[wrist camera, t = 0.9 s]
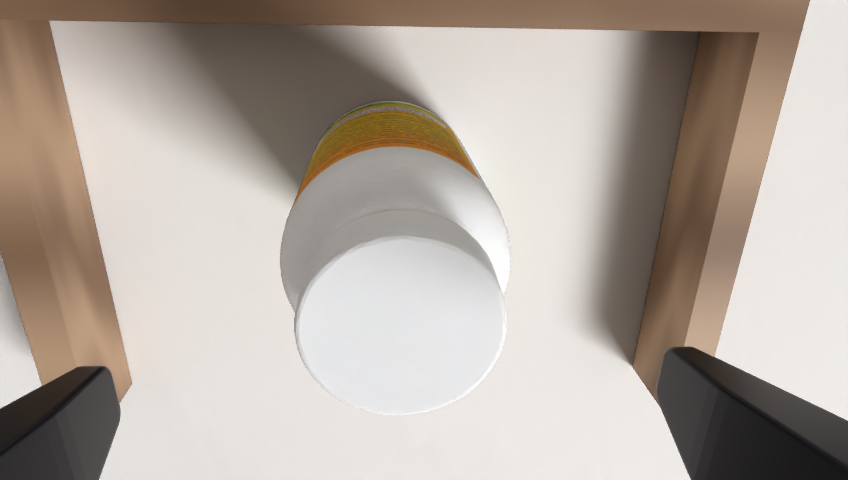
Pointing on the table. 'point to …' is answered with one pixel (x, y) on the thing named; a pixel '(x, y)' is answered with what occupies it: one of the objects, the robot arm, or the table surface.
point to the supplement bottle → (395, 263)
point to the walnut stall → (398, 6)
